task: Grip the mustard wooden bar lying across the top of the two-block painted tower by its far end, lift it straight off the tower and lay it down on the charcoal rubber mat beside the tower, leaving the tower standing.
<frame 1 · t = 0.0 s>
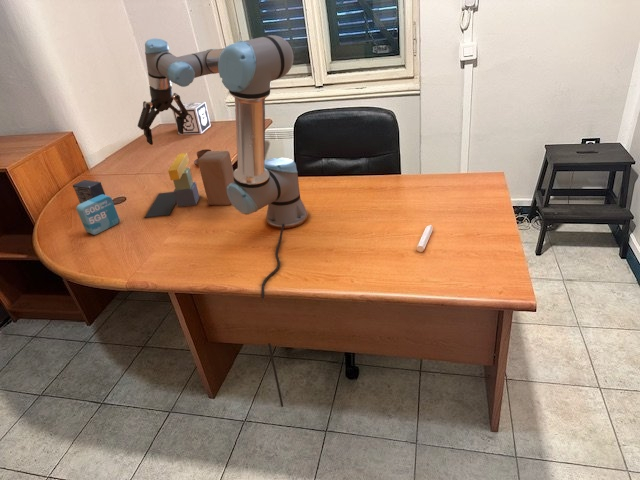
hand: (165, 137, 171), 28 cm above the table, tool tilted 20°, fingers open, 13 cm apart
cup and saucer: (206, 164, 222), on the table
tower: (189, 201, 185), on the table, touching bar
bar: (180, 170, 177), point 14 cm above the table, touching tower
data package: (104, 228, 171), on the table
small box: (95, 205, 190), on the table
mat: (164, 204, 185), on the table
marker: (425, 239, 144), on the table
block: (223, 200, 183), on the table
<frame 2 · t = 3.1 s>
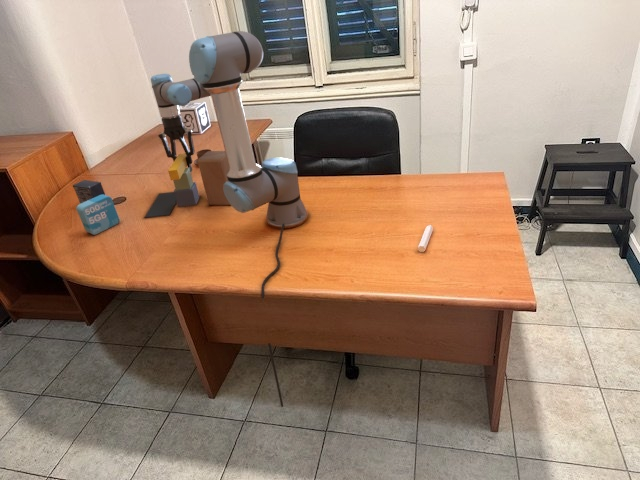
hand: (185, 171, 185), 11 cm above the table, tool pointing down, fingers closed on bar, 3 cm apart
bar: (180, 170, 177), point 14 cm above the table, touching gripper, tower
everything else where it was.
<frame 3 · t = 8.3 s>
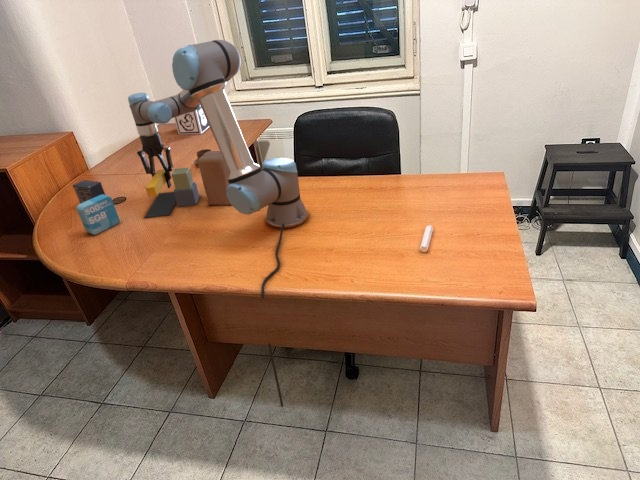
hand: (164, 187, 188), 5 cm above the table, tool pointing down, fingers closed on bar, 3 cm apart
tower: (189, 201, 185), on the table
bar: (158, 187, 181), point 8 cm above the table, touching gripper
everything else where it was.
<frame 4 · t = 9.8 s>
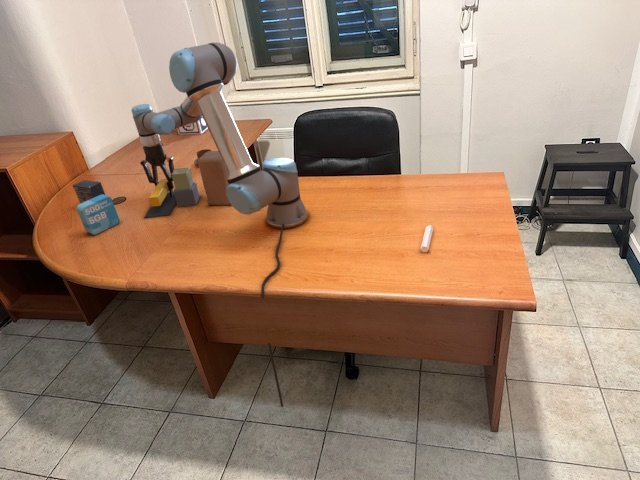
hand: (167, 196, 190), 1 cm above the table, tool pointing down, fingers closed on bar, 3 cm apart
bar: (161, 196, 183), point 4 cm above the table, touching gripper
everything else where it was.
when the fingers open (2 cm above the table, at t = 13.5 s): bar drops 5 cm, resting on mat.
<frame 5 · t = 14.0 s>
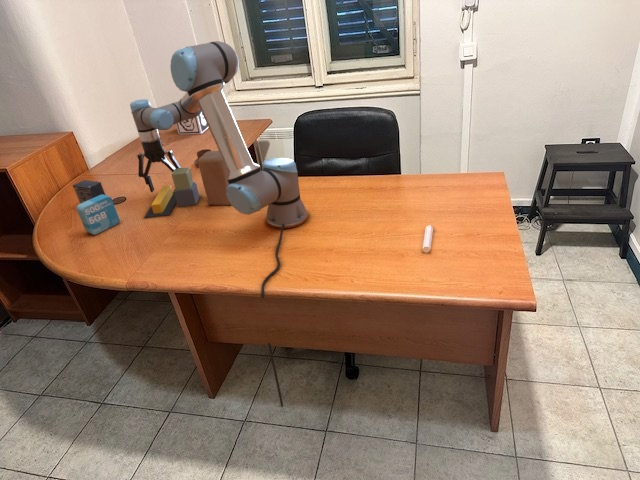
hand: (165, 189, 188), 4 cm above the table, tool pointing down, fingers open, 10 cm apart
bar: (163, 203, 185), resting on mat
everything else where it was.
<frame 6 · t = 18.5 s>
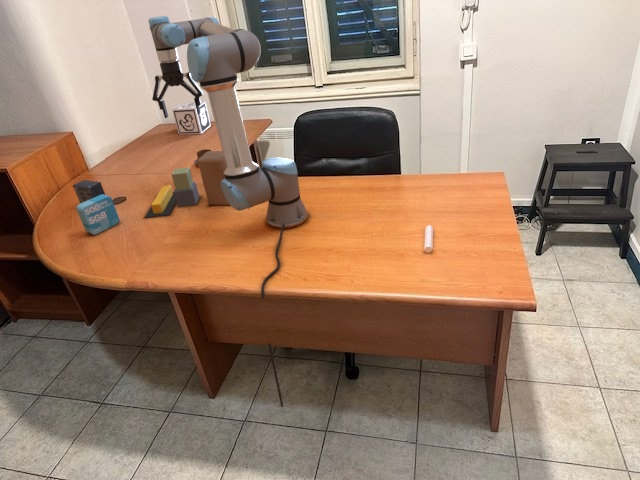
hand: (183, 115, 182), 32 cm above the table, tool pointing down, fingers open, 13 cm apart
at the end: bar inside the target area on the mat (0.1 cm from its centre), point 0.4 cm above the mat's base; tower tilted 0°; tower moved 0.0 cm from its start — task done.
